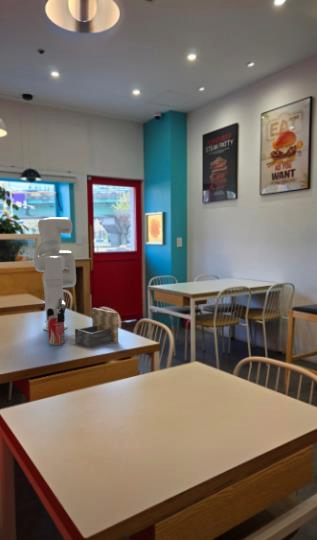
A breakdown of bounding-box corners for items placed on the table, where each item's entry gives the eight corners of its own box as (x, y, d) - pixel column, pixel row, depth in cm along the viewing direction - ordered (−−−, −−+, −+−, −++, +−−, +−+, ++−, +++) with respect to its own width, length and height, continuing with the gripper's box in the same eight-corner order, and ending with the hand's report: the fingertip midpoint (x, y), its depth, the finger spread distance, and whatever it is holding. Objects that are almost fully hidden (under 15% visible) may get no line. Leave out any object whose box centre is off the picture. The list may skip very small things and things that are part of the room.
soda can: (66, 341, 177) (65, 314, 176) (61, 346, 170) (60, 317, 169) (52, 341, 178) (51, 314, 177) (46, 346, 171) (45, 317, 170)
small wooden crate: (73, 340, 179) (72, 311, 178) (96, 335, 188) (95, 307, 187) (94, 348, 166) (93, 316, 165) (118, 342, 175) (117, 312, 174)
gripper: (37, 283, 176) (39, 319, 176) (56, 285, 163) (57, 324, 164) (52, 281, 181) (54, 317, 182) (71, 283, 168) (73, 321, 169)
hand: (55, 320), depth 173 cm, fingers open, 9 cm apart
